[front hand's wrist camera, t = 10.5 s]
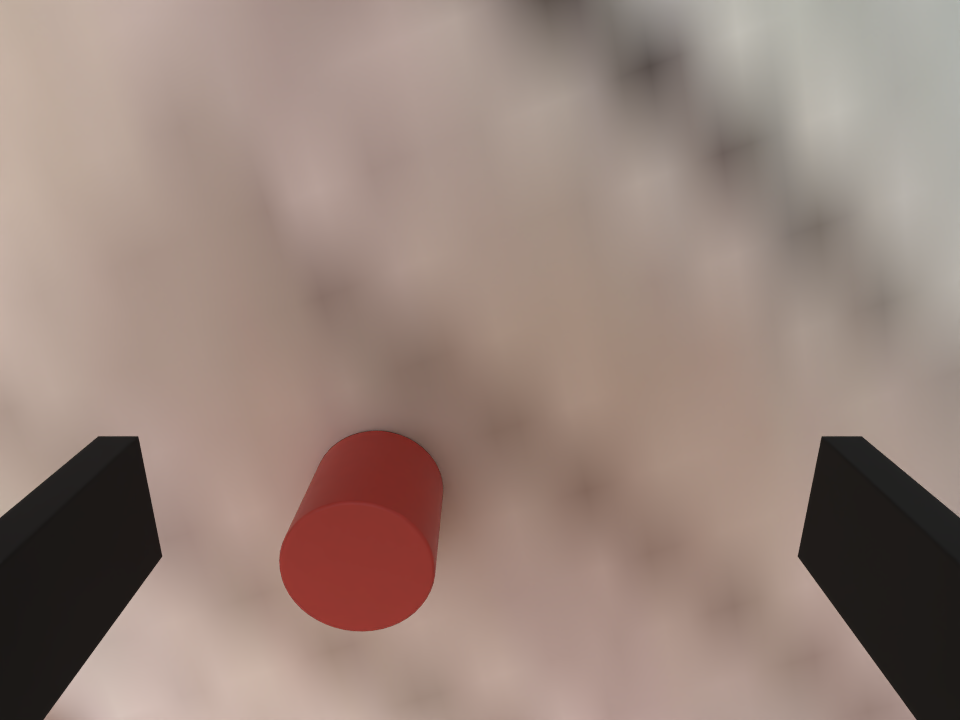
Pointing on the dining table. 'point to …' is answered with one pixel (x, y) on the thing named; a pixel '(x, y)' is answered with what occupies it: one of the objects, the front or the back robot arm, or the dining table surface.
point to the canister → (365, 533)
